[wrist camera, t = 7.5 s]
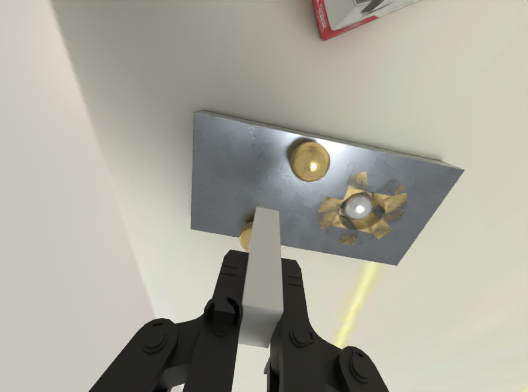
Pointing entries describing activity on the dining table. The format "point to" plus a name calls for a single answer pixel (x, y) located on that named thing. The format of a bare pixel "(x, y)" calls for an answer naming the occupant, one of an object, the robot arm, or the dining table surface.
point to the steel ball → (357, 206)
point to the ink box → (351, 13)
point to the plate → (312, 188)
